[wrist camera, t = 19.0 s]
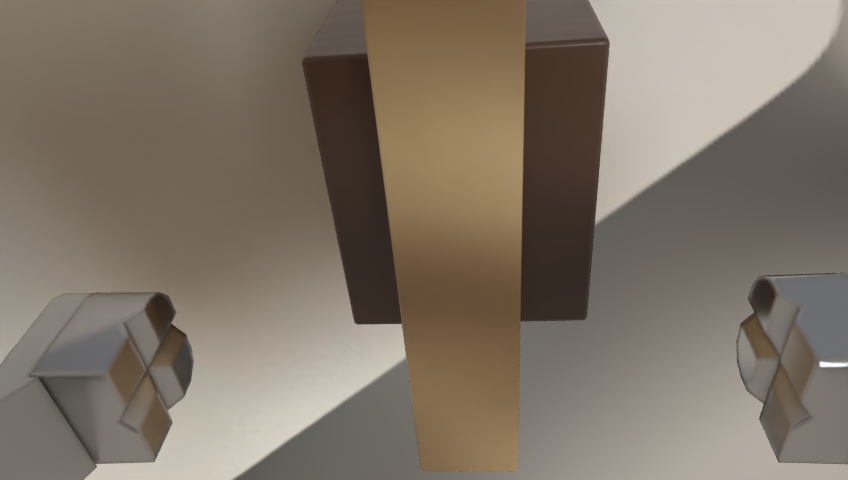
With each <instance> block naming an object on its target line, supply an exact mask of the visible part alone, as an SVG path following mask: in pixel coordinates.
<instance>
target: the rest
mask: <svg viewBox="0 0 848 480" xmlns="http://www.w3.org/2000/svg"><path fill="white" fill-rule="evenodd" d="M609 45H610V42H609V40H608V37H607V35H606V33H605V32H604V30H603V28H602V26H601V24H600V22H599V20H598V18H597V16H596V14H595V12H594V10H593V8H592V6H591V4H590V2H589V0H526V38H525V93H524V147H523V202H522V257H521V311H520V321H564V320H565V321H566V320H585V319H586V317H587V309H588V297H589V285H590V273H591V260H592V249H593V237H594V225H595V213H596V201H597V189H598V177H599V165H600V153H601V141H602V129H603V117H604V105H605V93H606V81H607V69H608V57H609ZM302 67H303V72H304V77H305V81H306V86H307V91H308V96H309V101H310V106H311V111H312V116H313V121H314V126H315V131H316V136H317V141H318V146H319V151H320V155H321V160H322V165H323V170H324V175H325V180H326V185H327V190H328V195H329V200H330V205H331V210H332V215H333V220H334V225H335V229H336V234H337V239H338V244H339V249H340V254H341V259H342V264H343V269H344V274H345V279H346V284H347V289H348V294H349V299H350V303H351V308H352V313H353V318H354V322H355V323H356V324H402V321H401V313H400V305H399V297H398V290H397V282H396V274H395V266H394V258H393V251H392V243H391V235H390V227H389V219H388V212H387V204H386V196H385V188H384V180H383V173H382V165H381V157H380V149H379V141H378V134H377V126H376V118H375V110H374V102H373V95H372V87H371V79H370V71H369V63H368V56H367V48H366V40H365V32H364V24H363V17H362V9H361V1H360V0H338V1H337V3H336V5H335V6H334V8H333V9H332V11H331V13H330V14H329V16H328V17H327V19H326V21H325V22H324V24H323V26H322V27H321V29H320V30H319V32H318V34H317V35H316V37H315V39H314V40H313V42H312V43H311V45H310V47H309V48H308V50H307V51H306V53H305V55H304V56H303V58H302Z"/></svg>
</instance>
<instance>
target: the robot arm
mask: <svg viewBox="0 0 848 480" xmlns="http://www.w3.org/2000/svg"><path fill="white" fill-rule="evenodd" d="M748 300H749V302H750V304H751V306H752V308H753V310H754V313H753V314H752V315H750V316H749V317H748V318H747V319H745V320H744V321H743V322H742V323H741V325H740V329H739V333H738V337H737V363H738V367H739V371H740V375H741V378H742V380H743V383H744V385H745V388H746V390H747V391H748V392H749V393H750V394H751V395H753V396H754V397H756V398H757V399H758V400H759V401H761V402H762V403H764V406H763V409H762V412H761V415H760V418H759V420H760V422H761V424H762V426H763V429H764V431H765V433H766V435H767V438H768V440H769V442H770V444H771V447H772V449H773V451H774V453H775V455H776V458H777V460H778V462H782V463H783V462H784V463H822V464H848V272H841V273H839V274H837V273H826V274H796V275H768V276H758V277H757V279H756V280H755V281H754V282H753V284H752V286H751V290H750V293H749V296H748ZM176 313H177V312H176V310H175V308H174V306H173V304H172V302H171V300H170V298H169V296H168V295H165V294H162V293H159V292H128V293H94V294H93V293H64V294H62V295H59V296H57V297H55V298H53V299H52V300H51V301H50V303H49V304H48V305H47V306H46V308H45V309H44V310H43V311H42V313H41V314H40V315H39V316H38V318H37V319H36V320H35V321H34V323H33V324H32V325H31V326H30V328H29V329H28V330H27V332H26V333H25V334H24V335H23V337H22V338H21V339H20V340H19V342H18V343H17V344H16V345H15V347H14V348H13V349H12V350H11V352H10V353H9V354H8V355H7V357H6V358H5V359H4V361H3V362H2V363H1V364H0V480H84V479H85V478H86V477H87V476H88V475H89V474H90V473H91V472H92V471H93V470H94V469H95V468H96V467H97V466H96V464H106V463H141V462H155V460H156V457H157V455H158V453H159V451H160V449H161V446H162V444H163V442H164V440H165V438H166V436H167V433H168V431H169V429H170V427H171V425H172V423H173V422H172V419H171V417H170V414H169V411H168V410H169V409H170V408H171V407H172V406H174V405H175V404H176V403H177V402H179V401H180V400H181V399H182V398H184V396H185V394H186V391H187V389H188V387H189V384H190V382H191V377H192V369H193V355H192V349H191V345H190V343H189V340H188V338H187V335H186V334H185V333H183V332H182V331H180V330H179V329H178V328H176V327H175V326H174V325H172V324H171V323H172V321H173V319H174V317H175V315H176Z"/></svg>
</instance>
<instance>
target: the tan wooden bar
mask: <svg viewBox="0 0 848 480" xmlns="http://www.w3.org/2000/svg"><path fill="white" fill-rule="evenodd" d="M360 1H361V9H362V17H363V24H364V32H365V40H366V48H367V56H368V63H369V71H370V79H371V87H372V95H373V102H374V110H375V118H376V126H377V134H378V141H379V149H380V157H381V165H382V173H383V180H384V188H385V196H386V204H387V212H388V219H389V227H390V235H391V243H392V251H393V258H394V266H395V274H396V282H397V290H398V297H399V305H400V313H401V321H402V329H403V336H404V344H405V352H406V360H407V368H408V374H409V383H410V391H411V399H412V407H413V414H414V422H415V429H416V437H417V445H418V453H419V461H420V468H421V470H423V471H428V470H429V471H507V472H511V471H512V472H514V471H515V472H516V471H517V469H518V421H519V420H518V419H519V418H518V417H519V366H520V311H521V257H522V202H523V147H524V93H525V38H526V0H360Z"/></svg>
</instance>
